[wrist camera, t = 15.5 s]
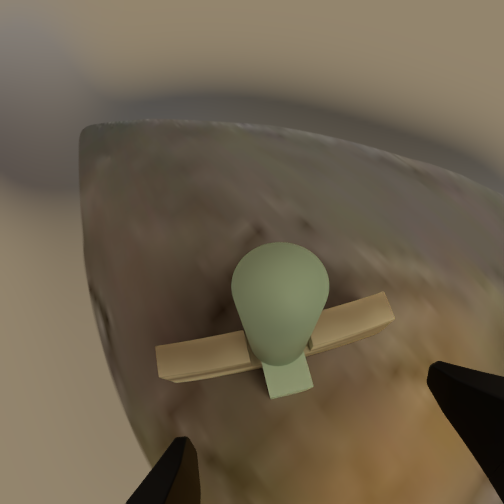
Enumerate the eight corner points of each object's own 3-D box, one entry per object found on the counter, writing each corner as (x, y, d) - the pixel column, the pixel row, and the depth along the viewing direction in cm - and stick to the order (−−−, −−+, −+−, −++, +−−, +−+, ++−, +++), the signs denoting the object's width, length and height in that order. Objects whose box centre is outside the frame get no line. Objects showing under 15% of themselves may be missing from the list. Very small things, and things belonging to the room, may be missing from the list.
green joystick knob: (312, 388, 20) (358, 362, 9) (264, 400, 20) (253, 392, 9) (288, 302, 24) (297, 202, 13) (244, 312, 24) (217, 218, 13)
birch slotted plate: (378, 333, 22) (395, 318, 19) (176, 382, 21) (158, 377, 18) (369, 309, 23) (384, 291, 20) (172, 356, 22) (155, 346, 19)
